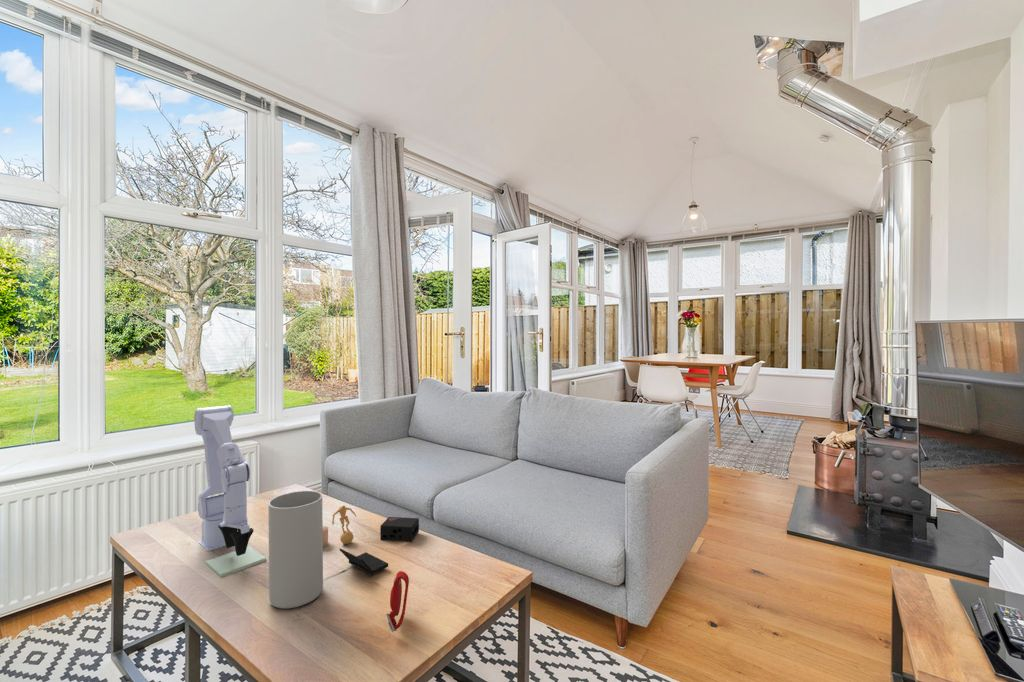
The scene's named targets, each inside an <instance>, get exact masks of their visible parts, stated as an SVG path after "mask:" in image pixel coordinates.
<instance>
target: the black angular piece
mask: <svg viewBox="0 0 1024 682" xmlns="http://www.w3.org/2000/svg"><path fill="white" fill-rule="evenodd" d="M338 551H340V552H341V553H342V555H344V557H346V559H347V560H348V564H350V565H352V566H353V567H356V568H358V569H360V570H362V571H363V572H365V573H367V574H368V575H370V576H373V575H375V574H376V573H379V572H380V571H382V570H384V569H386V568H388V567H389V563H388V562H386V561H384V560H382V559H380V558H378V557H376V556H374V555H373V554H371V553H368V552H363V553H360V554H359V555H355V554H352V553H350V552H348V551H346V550H345V549H342V548H339V550H338Z"/></svg>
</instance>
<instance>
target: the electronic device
mask: <svg viewBox="0 0 1024 682" xmlns="http://www.w3.org/2000/svg"><path fill="white" fill-rule="evenodd" d="M379 530H380V532H379V533H380V541H392V542H393V541H397V542H413V541H414V539H415V538H416V537H417V535H418V534H419V532H420V519H419V517H401V516H400V517H397V516H395V517H394V516H388V517H387V518H386V519H385V521H384V522H382V523H381V524H380V529H379Z"/></svg>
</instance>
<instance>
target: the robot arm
mask: <svg viewBox="0 0 1024 682" xmlns="http://www.w3.org/2000/svg"><path fill="white" fill-rule="evenodd" d="M233 409H234V408H233V407H232V406H231V404H227V405H219V406H211V407H197V408H196V410H194V416H193V419H194V420H193V421H194V430H195V433H196V435H198V436H201V438H202V440H203V447H204V448H203V449H204V458H205V470H206V479H207V487H206V488H205V489H204V490H202V491H201V492H200V493H199V495H198V498H197V500H198V501H197V503H198V504H197V514H198V516H199V518H200V519H202V521H201V540H198V544H199V545H201V547H203V549H205V550H206V551H208V552H211V551H214V550H217V549H220V548H224V547H225V548H227V549H229V548H235V549H234V550H235V551H236V554H237V556H240V555H243V554H245V553H246V549H247V547H248V546H249V545H248V544H249V542H250V539H251V536H252V535H253V533H254V528H252V527H250V524H249V519H248V508H247V507H248V499H247V498H248V497H247V496H248V494H247V493H248V492H247V488H248V486H247V485H248V484H247V482H249V480H250V478H251V477H250V475H251V470H250V466H249V463H248V462H247V461H246V459H244V458H243V457H242V454H241V451H240V448H239V446H238V444H236V443H233V439H232V438H233V437H232V434H231V432H232V431H231V428H230V427H231V426H232V424H233V421H234V418H235V417H234V415H235V413H234V410H233ZM223 546H224V547H223Z"/></svg>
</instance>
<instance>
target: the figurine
mask: <svg viewBox="0 0 1024 682" xmlns="http://www.w3.org/2000/svg"><path fill="white" fill-rule="evenodd" d="M347 511H350V512H351V513H352V514H353V515H354V517H357V515H356V513H355V512H354V510H353V509H352V508H350V507H346V505H342V506H339V507H338V509H337V510H336V511H335V512H334V513H333V514H332V522H331V524H332V526H333V525H335V516H336V515H337V514H339V515H340V518H339V521H340V524H341V529H342V533H341V535H340V542H341V543H342V544H343V545H349V544H350V543H352V542H353V541H354V534H353V532H352V531H351V530H350V529H349V525H350V523H351V522H350V519H349V516H348V515H346V514H347ZM345 523H346V524H345ZM344 527H345V528H346V530H345V528H344Z"/></svg>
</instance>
